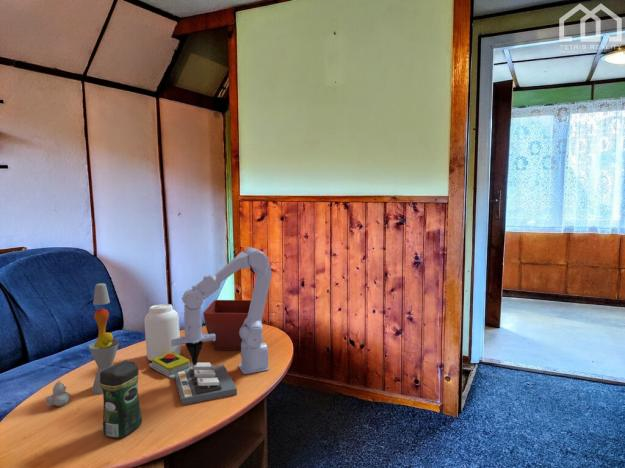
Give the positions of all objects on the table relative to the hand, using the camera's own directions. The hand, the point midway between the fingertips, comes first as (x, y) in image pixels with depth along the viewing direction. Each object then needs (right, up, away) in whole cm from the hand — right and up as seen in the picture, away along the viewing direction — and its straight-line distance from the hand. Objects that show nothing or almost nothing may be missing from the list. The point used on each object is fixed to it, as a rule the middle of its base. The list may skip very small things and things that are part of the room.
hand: (194, 363), depth 147 cm
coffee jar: (-12, -9, -30) cm, 33 cm away
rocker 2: (+5, -2, -5) cm, 7 cm away
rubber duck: (-37, -8, -17) cm, 41 cm away
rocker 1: (+2, -2, +1) cm, 3 cm away
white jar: (-17, -3, +19) cm, 26 cm away
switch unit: (+5, -6, -4) cm, 9 cm away
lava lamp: (-28, -7, -5) cm, 29 cm away
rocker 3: (+7, -3, -11) cm, 13 cm away
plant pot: (+7, -2, +32) cm, 33 cm away
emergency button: (-11, -5, +9) cm, 15 cm away
